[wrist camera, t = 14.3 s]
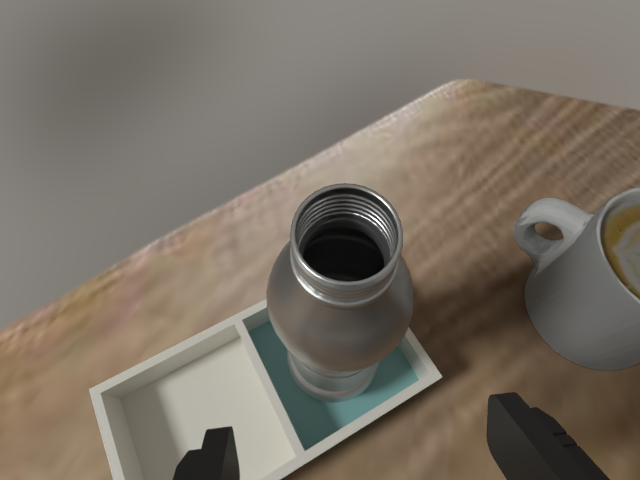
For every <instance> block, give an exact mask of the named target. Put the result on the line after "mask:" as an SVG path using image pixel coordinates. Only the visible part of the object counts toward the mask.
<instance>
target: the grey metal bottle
mask: <svg viewBox="0 0 640 480" xmlns="http://www.w3.org/2000/svg"><path fill="white" fill-rule="evenodd" d="M402 245H403V231H402V226H401V221H400V219H399V217H398V215H397V212H396V211H395V209H394V208H393V207H392V205H391V204H390V203H389V202H388V201H387V200H386V199H385V198H384V197H383V196H381V195H380V194H378V193H377V192H376V191H374V190H371V189H369V188H367V187H364V186H360V185H356V184H346V183H344V184H334V185H330V186H326V187H324V188H322V189H319V190H317V191H315V192H314V193H313V194H311V195H310V196H308V197H307V198H306V199H305V200H304V201H303V202H302V203H301V205H300V206H299V208H298V209H297V211H296V213H295V216H294V218H293V221H292V225H291V232H290V241H289V242H288V243H287V244H286V246H285V247H284V248H283V249H282V251H281V253H280V254H279V256H278V257H277V259H276V261H275V263H274V265H273V268H272V271H271V273H270V276H269V279H268V285H267V291H266V297H267V309H268V313H269V318H270V321H271V323H272V326H273V328H274V330H275V332H276V334H277V336H278V337H279V338H280V340H281V341H282V342H283V344H284V345H285V347H286V348H287V362H288V366H289V370H290V372H291V375H292V377H293V379H294V380H295V382H296V383H297V384H298V386H299V387H300V388H301V389H302V390H303V391H304V392H305V393H306V394H308V395H310V396H311V397H313V398H315V399H317V400H320V401H323V402H331V403H336V402H344V401H347V400H350V399H353V398H354V397H356V396H357V395H359V394H361V393H362V392H363V391H364V390H365V389H366V388H367V387H368V386H369V384H370V383H371V381H372V380H373V378H374V376H375V373H376V371H377V368H378V363H379V361H381V360H383V359H384V358H385V357H386V356H387V355H389V354H390V353H391V352H392V351H393V350H394V349H395V348H396V347H397V346H398V344H399V343H400V341H401V340H402V339H403V337H404V336H405V334H406V332H407V329H408V327H409V325H410V322H411V319H412V313H413V308H414V291H413V286H412V282H411V277H410V272H409V270H408V267H407V265H406V262H405V260H404V258H403V257H402V255H401V250H402Z"/></svg>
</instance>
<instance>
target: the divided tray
mask: <svg viewBox="0 0 640 480" xmlns="http://www.w3.org/2000/svg"><path fill="white" fill-rule="evenodd" d="M440 378H442V375H441V374H440V372H439V371H438V369H437V368H436V366H435V365H434V364H433V362H432V361H431V359H430V358H429V356H428V355H427V353H426V352H425V350H424V349H423V347H422V346H421V344H420V343H419V341H418V340H417V338H416V337H415V335H414V334H413V332H412V331H411V329H410V328H409V327H408V329H407V332H406V334H405V336H404V337H403V339H402V340H401V341H400V343H399V344H398V346H397V347H396V348H395V349H394V350H393V351H392V352H391V353H390V354H389V355H387V356H386V357H385V358H384V359H383V360H381V361H379V363H378V368H377V371H376V373H375V376H374V378H373V380H372V381H371V383H370V384H369V386H368V387H367V388H366V389H365V390H364V391H363V392H362V393H361V394H359V395H357V396H356V397H354V398H353V399H350V400H347V401H344V402H336V403H331V402H323V401H320V400H317V399H315V398H313V397H311V396H310V395H308V394H306V393H305V392H304V391H303V390H302V389H301V388H300V387H299V386H298V384H297V383H296V382H295V380H294V379H293V377H292V375H291V372H290V370H289V366H288V362H287V348H286V347H285V345H284V344H283V342H282V341H281V340H280V338H279V337H278V336H277V334H276V332H275V330H274V328H273V326H272V323H271V321H270V318H269V313H268V309H267V299H265V300H263V301H261V302H259V303H257V304H255V305H253V306H251V307H249V308H247V309H245V310H243V311H241V312H239V313H237V314H236V315H234V316H232V317H230V318H228V319H226V320H224V321H222V322H220V323H218V324H216V325H214V326H212V327H210V328H208V329H206V330H204V331H202V332H200V333H198V334H196V335H194V336H192V337H190V338H189V339H187V340H185V341H183V342H181V343H179V344H177V345H175V346H173V347H171V348H169V349H167V350H165V351H163V352H161V353H159V354H157V355H155V356H153V357H151V358H149V359H147V360H145V361H143V362H142V363H140V364H138V365H136V366H134V367H132V368H130V369H128V370H126V371H124V372H122V373H120V374H118V375H116V376H114V377H112V378H110V379H108V380H106V381H104V382H102V383H100V384H98V385H97V386H95V387H93V388H91V389H89V391H90V395H91V399H92V402H93V406H94V410H95V414H96V417H97V421H98V425H99V428H100V432H101V436H102V440H103V443H104V447H105V451H106V454H107V458H108V462H109V466H110V469H111V473H112V477H113V480H173V476H174V473H175V470H176V467H177V465H178V464H179V462H180V461H181V460H182V458H183V457H184V456H185V454H186V453H187V452H188V450H196V449H201V447H202V443H203V439H204V435H205V432H206V430H207V429H213V428H221V427H229V426H232V428H233V432H234V438H235V444H236V450H237V456H238V462H239V469H240V480H281V479H283V478H284V477H286V476H287V475H289V474H291V473H292V472H294V471H295V470H297V469H298V468H300V467H302V466H303V465H305V464H306V463H308V462H310V461H311V460H313V459H314V458H316V457H317V456H319V455H321V454H322V453H324V452H325V451H327V450H329V449H330V448H332V447H333V446H335V445H337V444H338V443H340V442H341V441H343V440H344V439H346V438H348V437H349V436H351V435H352V434H354V433H356V432H357V431H359V430H360V429H362V428H363V427H365V426H367V425H368V424H370V423H371V422H373V421H375V420H376V419H378V418H379V417H381V416H382V415H384V414H386V413H387V412H389V411H390V410H392V409H394V408H395V407H397V406H398V405H400V404H401V403H403V402H405V401H406V400H408V399H409V398H411V397H413V396H414V395H416V394H417V393H419V392H421V391H422V390H424V389H425V388H427V387H428V386H430V385H431V384H433V383H434V382H436V381H437V380H439V379H440Z"/></svg>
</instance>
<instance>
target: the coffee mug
mask: <svg viewBox="0 0 640 480" xmlns="http://www.w3.org/2000/svg"><path fill="white" fill-rule="evenodd" d="M544 222H545V223H548V224H551V225H554V226H556V227H557V228H558V229H559V230H561V231H562V234H563V238H562V239H560V240H554V241H553V240H548V239H545V238H543V237H542V236H540V235H539V234H538V233H537V232H536V231H535V227H534V226H535V224H538V223H544ZM514 238H515V240H516V242H517V244H518V245H519V246H520V248H521V249H522V250H523V251H524V252H525V253H526V254H528V255H529V256H530V257H531V258H532V260H533V261H534V264H535V267H534V268H533V270H532V271H531V273H530V274H529V276H528V279H527V282H526V285H525V291H524V298H525V305H526V309H527V312H528V316H529V318H530V320H531V322H532V324H533V326H534V328H535V329H536V331H537V332H538V334H539V335H540V336H541V337H542V339H543V340H544V341H545V342H546V343H547V344H548V345H549V346H550V347H551V348H552V349H553V350H555V351H556V352H557V353H559V354H560V355H561V356H563V357H564V358H566V359H568V360H569V361H571V362H573V363H576V364H578V365H580V366H583V367H586V368H589V369H593V370H600V371H615V370H621V369H625V368H628V367H631V366H635V365H638V364H640V188H634V189H630V190H627V191H624V192H622V193H620V194H618V195H616V196H614V197H613V198H611V199H610V200H609V201H608V202H606V203H605V204H604V205H603V206H602V207H601V208H600V209H599V210H598V211H597V212H596V213H595V214H589V213H586V212H585V211H583V210H581V209H580V208H578V207H576V206H574V205H573V204H571V203H569V202H566V201H564V200H561V199H555V198H545V199H541V200H538V201H536V202H534V203H532V204H531V205H530V206H528V207H527V208H526V209H525V210H524V212H523V213H522V214H521V215H520V216H519V218H518V220H517V222H516V224H515V226H514Z"/></svg>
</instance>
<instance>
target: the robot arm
mask: <svg viewBox="0 0 640 480" xmlns="http://www.w3.org/2000/svg"><path fill="white" fill-rule="evenodd" d="M487 442H488V446H489V449H490V452H491V454H492V456H493V458H494V460H495V461H496V463H497V465H498V466H499V468H500V469H501V471H502V473H503V474H504V476H505V477H506V479H507V480H610V479H609V478H608V477H607V476H606V475H605V474H604V473H603V472H602V471H601V469H600V468H599V467H598V466H597V465H596V464H595V463H594V462H593V461H592V460H591V458H590V457H589V456H588V455H587V454H586V453H585V452H584V451H583V450H582V449H581V448H580V446H577V443H576V442H575V441H574V440H573V439H572V438H571V437H570V435H567V433H566V431H565V430H564V429H563V428H562V427H561V426H560V424H559V423H558V422H557V421H556V420H555V419H554V418H553V417H551V416H549V415H548V414H546V413H545V412H543V411H542V410H540V409H538V408H537V407H535V408H530V407H529V406H528V405H527V404H526V403H525V402H524V401H523V399H522V398H521V397H520V396H519V395H518V394H517V393H515V392H511V393H503V394H495V395H490V396H489V399H488V416H487ZM173 480H240V469H239V462H238V456H237V450H236V444H235V438H234V432H233V428H232V426H229V427H221V428H213V429H207V430H206V432H205V435H204V439H203V443H202V447H201V449H196V450H188V452H187V453H186V454H185V456H184V457H183V458H182V460H181V461H180V462H179V464H178V465H177V467H176V470H175V473H174V476H173Z"/></svg>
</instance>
